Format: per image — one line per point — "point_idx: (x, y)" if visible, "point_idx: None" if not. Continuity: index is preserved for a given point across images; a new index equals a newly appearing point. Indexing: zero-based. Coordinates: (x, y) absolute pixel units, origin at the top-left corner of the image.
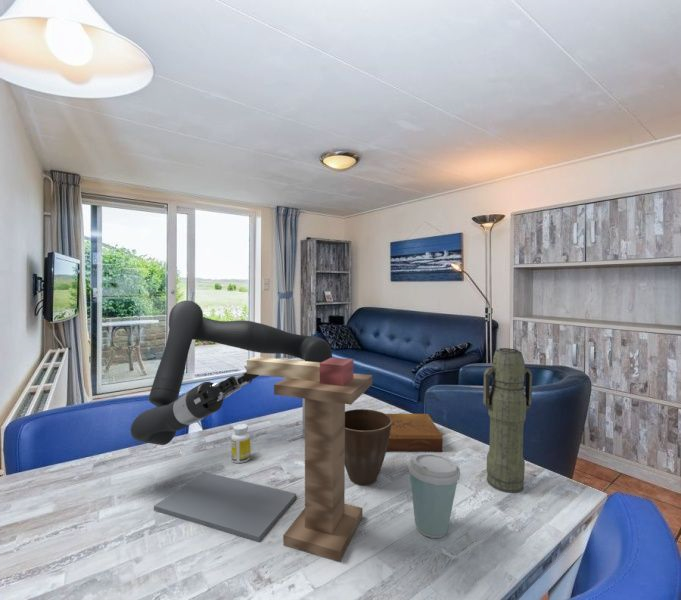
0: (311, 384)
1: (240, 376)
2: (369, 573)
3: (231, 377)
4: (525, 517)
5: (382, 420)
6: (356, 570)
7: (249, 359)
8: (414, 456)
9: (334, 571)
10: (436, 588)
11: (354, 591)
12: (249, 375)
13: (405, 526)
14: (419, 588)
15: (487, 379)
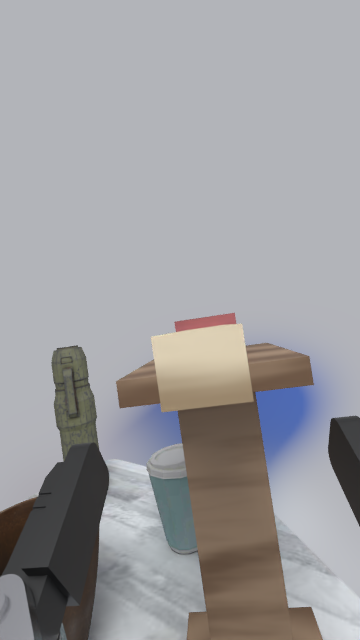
0: (255, 352)
1: (36, 632)
2: (303, 580)
3: (356, 417)
4: (147, 485)
5: (4, 528)
6: (310, 597)
7: (225, 326)
8: (169, 463)
9: (336, 625)
10: (276, 523)
11: (343, 587)
12: (81, 528)
13: (194, 565)
14: (286, 534)
15: (72, 381)
